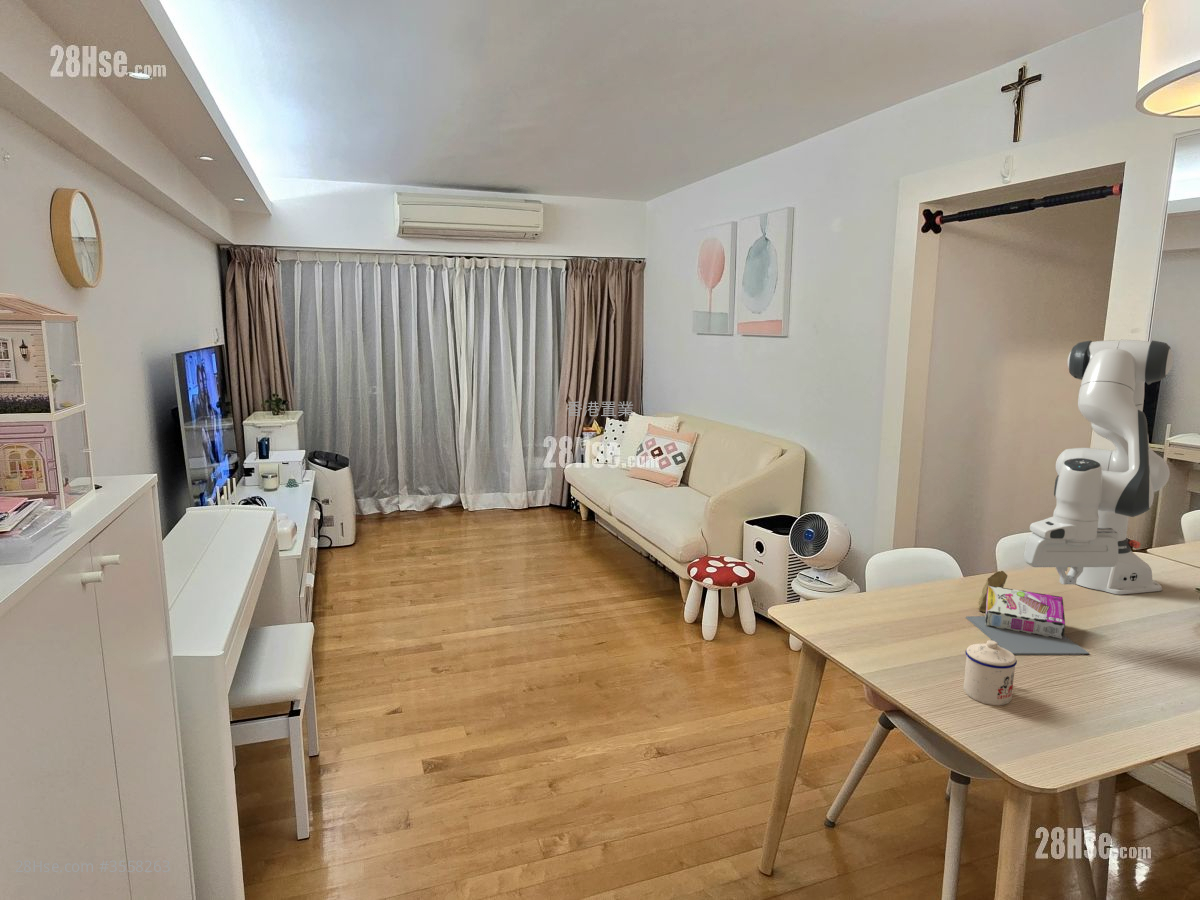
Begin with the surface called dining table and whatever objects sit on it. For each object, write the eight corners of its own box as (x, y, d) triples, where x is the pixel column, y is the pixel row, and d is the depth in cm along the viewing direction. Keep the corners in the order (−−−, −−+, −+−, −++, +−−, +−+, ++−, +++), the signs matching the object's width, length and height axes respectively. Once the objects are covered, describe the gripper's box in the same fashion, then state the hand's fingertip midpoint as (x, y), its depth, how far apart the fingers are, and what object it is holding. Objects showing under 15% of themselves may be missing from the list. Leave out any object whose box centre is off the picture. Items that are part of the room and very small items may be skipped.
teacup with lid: (1006, 712, 135) (1012, 657, 133) (956, 695, 141) (961, 642, 139) (1020, 688, 144) (1026, 635, 142) (972, 673, 150) (977, 623, 148)
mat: (1036, 617, 177) (1037, 616, 177) (1089, 654, 157) (1089, 653, 157) (965, 617, 178) (966, 616, 177) (1009, 654, 158) (1009, 653, 158)
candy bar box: (1066, 623, 162) (986, 611, 170) (1063, 640, 164) (985, 627, 172) (1063, 594, 171) (987, 584, 178) (1060, 611, 173) (985, 600, 181)
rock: (995, 610, 176) (1022, 599, 180) (977, 579, 179) (1004, 568, 183) (966, 620, 186) (993, 609, 189) (950, 590, 189) (976, 580, 192)
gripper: (1109, 524, 165) (1102, 578, 168) (1023, 524, 165) (1017, 578, 168) (1129, 531, 159) (1121, 588, 161) (1039, 532, 159) (1032, 588, 162)
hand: (1067, 583), depth 165 cm, fingers closed
